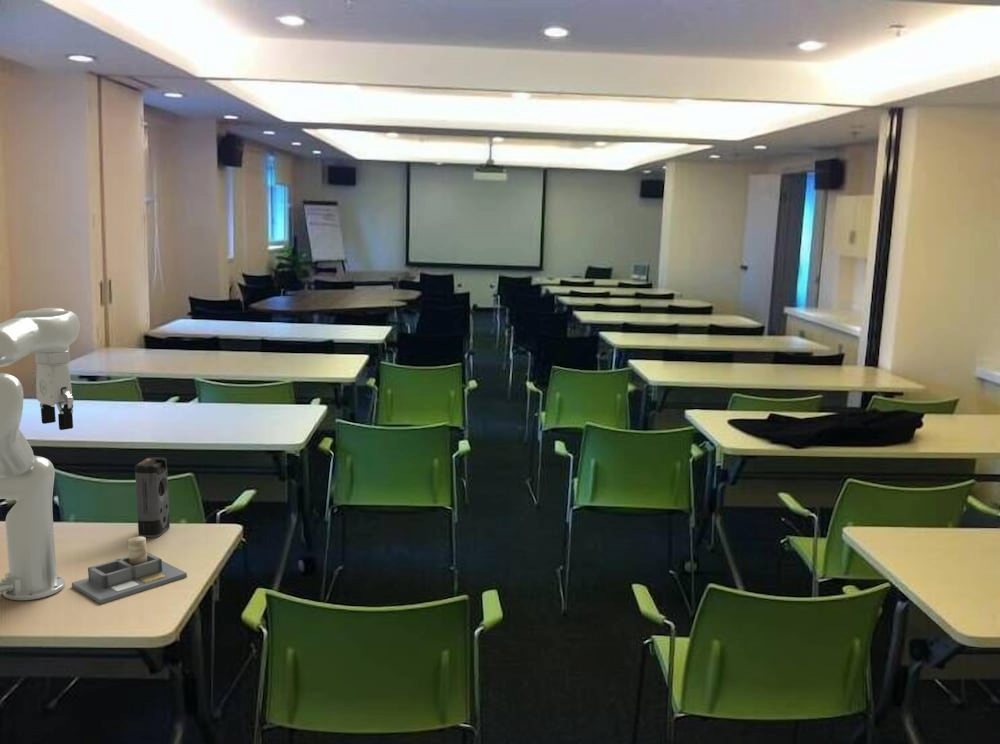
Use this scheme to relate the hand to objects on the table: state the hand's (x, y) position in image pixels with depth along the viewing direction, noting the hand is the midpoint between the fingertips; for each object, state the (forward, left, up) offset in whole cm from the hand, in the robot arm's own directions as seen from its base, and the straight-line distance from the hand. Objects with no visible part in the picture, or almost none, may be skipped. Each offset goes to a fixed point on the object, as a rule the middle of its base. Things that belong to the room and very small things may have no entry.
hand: (57, 425), depth 220 cm
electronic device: (+23, -2, -34) cm, 41 cm away
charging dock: (+2, -29, -33) cm, 44 cm away
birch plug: (+5, -27, -32) cm, 43 cm away
